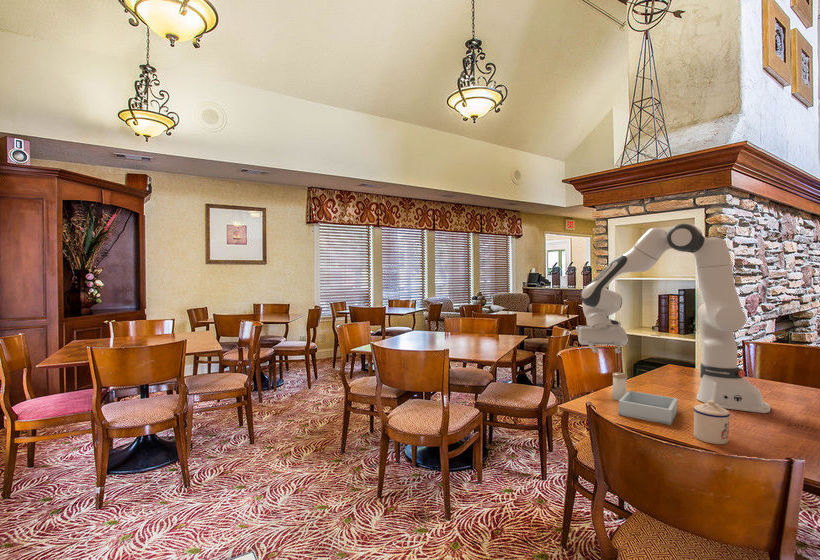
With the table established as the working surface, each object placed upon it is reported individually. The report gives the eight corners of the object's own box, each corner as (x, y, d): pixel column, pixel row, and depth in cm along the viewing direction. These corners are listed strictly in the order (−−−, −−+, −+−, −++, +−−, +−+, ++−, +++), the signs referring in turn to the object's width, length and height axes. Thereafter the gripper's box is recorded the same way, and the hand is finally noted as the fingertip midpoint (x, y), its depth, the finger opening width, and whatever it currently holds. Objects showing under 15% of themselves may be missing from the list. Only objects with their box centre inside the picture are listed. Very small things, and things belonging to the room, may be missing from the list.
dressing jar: (628, 398, 169) (628, 373, 169) (625, 401, 165) (625, 376, 164) (613, 396, 172) (614, 371, 172) (610, 399, 168) (611, 374, 168)
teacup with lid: (729, 447, 123) (730, 408, 122) (692, 440, 128) (692, 402, 128) (728, 434, 133) (729, 397, 132) (693, 428, 138) (694, 392, 138)
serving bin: (677, 412, 153) (677, 398, 153) (670, 425, 140) (671, 410, 140) (628, 403, 163) (628, 390, 163) (618, 414, 150) (618, 400, 150)
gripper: (576, 321, 188) (584, 347, 179) (624, 321, 187) (633, 348, 177) (573, 329, 193) (580, 355, 183) (619, 330, 191) (628, 356, 182)
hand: (607, 352), depth 180 cm, fingers open, 8 cm apart
